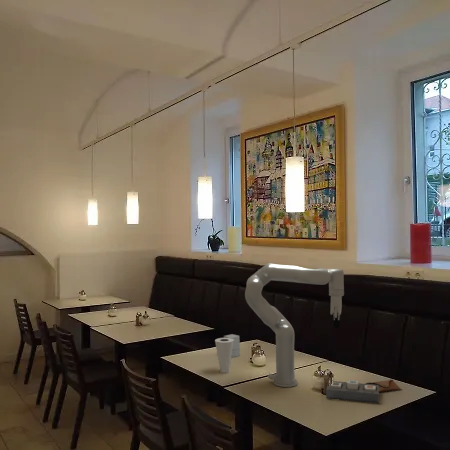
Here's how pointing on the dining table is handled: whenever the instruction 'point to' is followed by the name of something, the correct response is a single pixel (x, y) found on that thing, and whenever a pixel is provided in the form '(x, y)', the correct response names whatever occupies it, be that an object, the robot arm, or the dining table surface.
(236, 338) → the supplement box
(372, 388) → the key right
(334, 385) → the key left
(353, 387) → the key mid
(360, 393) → the block
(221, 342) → the cup
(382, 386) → the sunglasses case
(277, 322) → the robot arm
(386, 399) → the dining table surface
